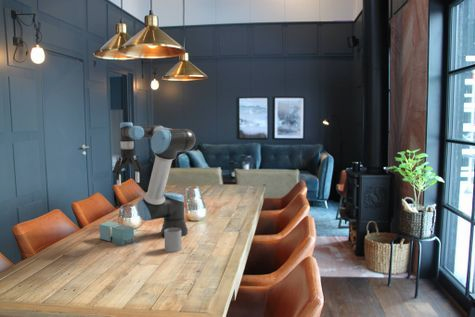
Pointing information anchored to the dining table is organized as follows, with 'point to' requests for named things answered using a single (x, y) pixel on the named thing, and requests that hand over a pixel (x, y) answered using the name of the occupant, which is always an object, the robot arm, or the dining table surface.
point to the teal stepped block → (122, 235)
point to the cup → (173, 240)
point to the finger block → (107, 230)
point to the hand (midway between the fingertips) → (128, 183)
